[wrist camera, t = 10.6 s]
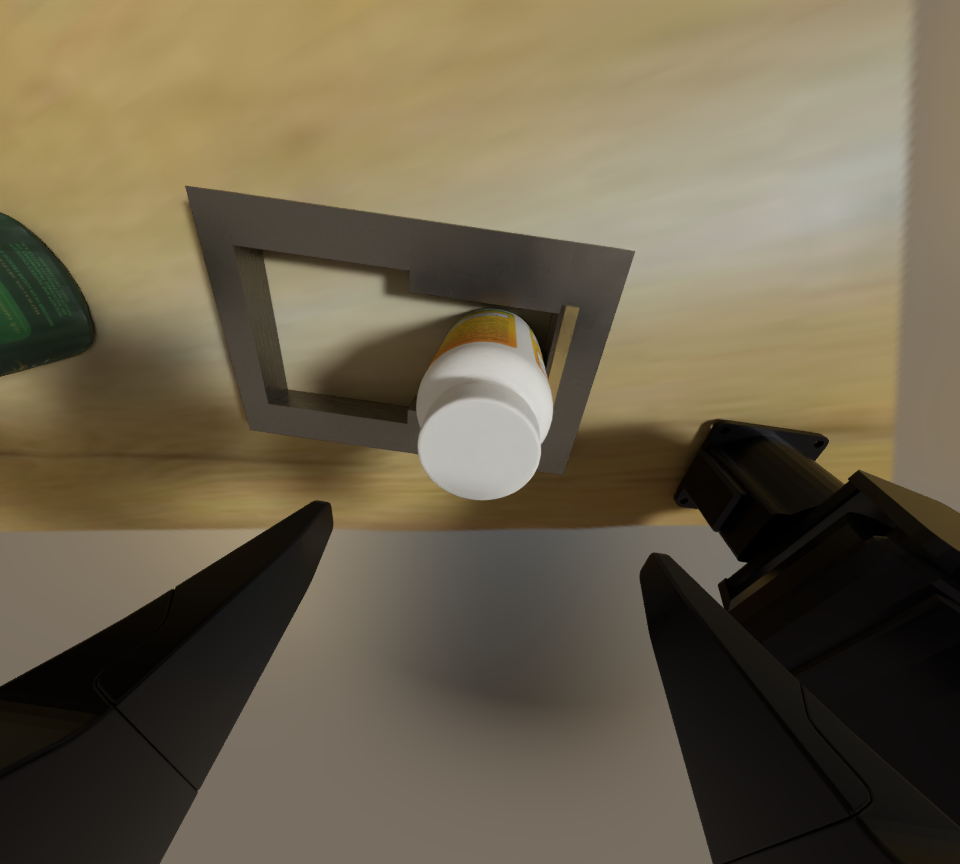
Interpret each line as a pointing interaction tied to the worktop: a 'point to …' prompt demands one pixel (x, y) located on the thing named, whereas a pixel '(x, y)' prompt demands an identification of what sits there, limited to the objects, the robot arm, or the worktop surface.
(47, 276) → the coffee jar
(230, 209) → the keyhole plate
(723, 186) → the worktop surface
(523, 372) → the supplement bottle
